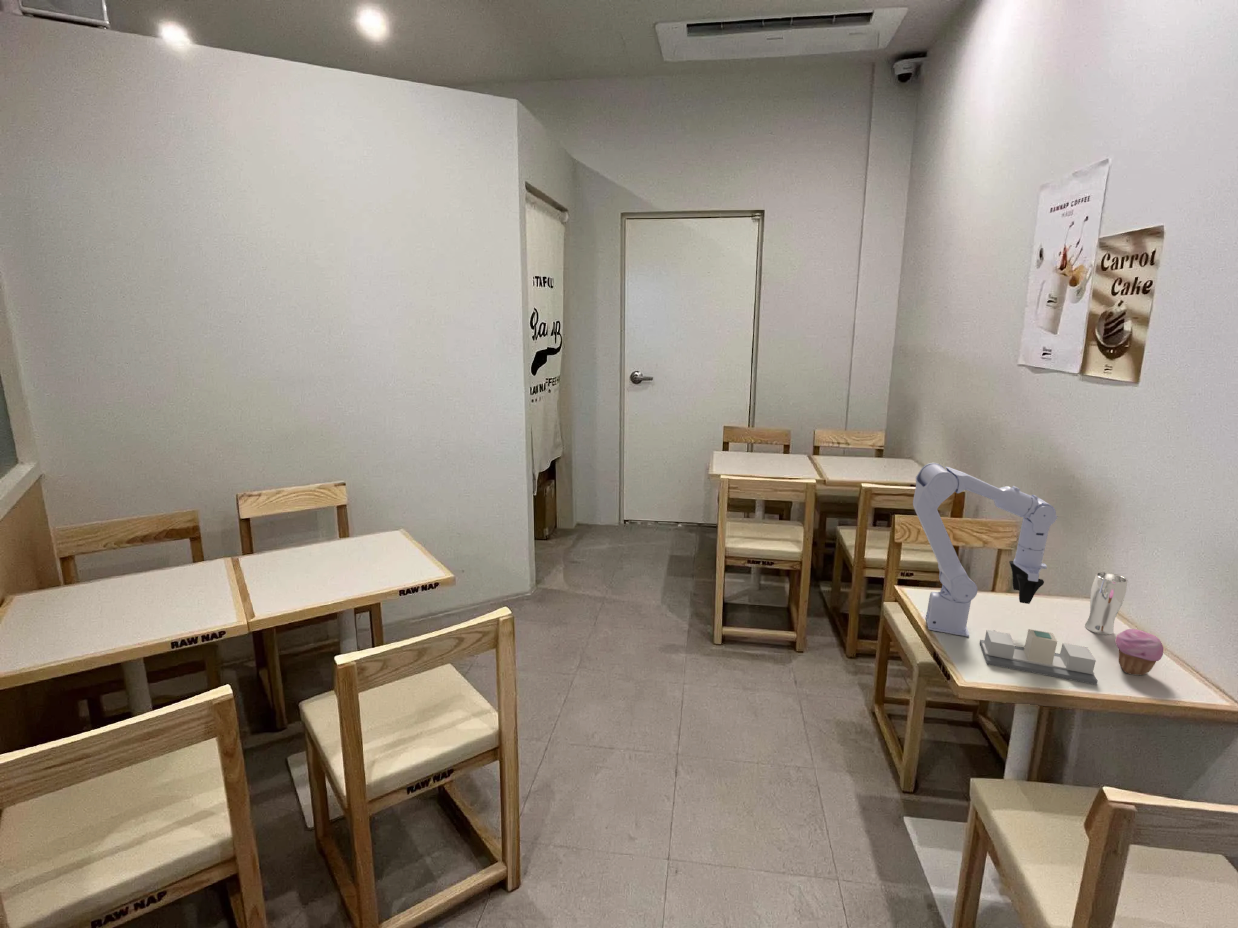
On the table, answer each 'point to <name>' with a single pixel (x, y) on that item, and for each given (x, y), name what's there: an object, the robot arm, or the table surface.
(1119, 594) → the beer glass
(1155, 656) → the cupcake
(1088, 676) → the rail board
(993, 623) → the table surface
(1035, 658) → the block
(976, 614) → the table surface
